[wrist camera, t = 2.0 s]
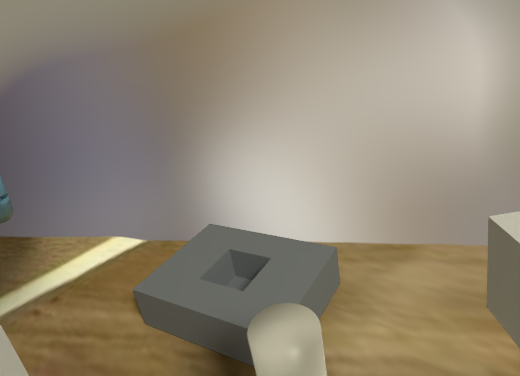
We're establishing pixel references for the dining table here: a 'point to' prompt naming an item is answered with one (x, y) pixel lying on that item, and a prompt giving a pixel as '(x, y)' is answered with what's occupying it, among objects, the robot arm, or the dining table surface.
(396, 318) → the dining table surface
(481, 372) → the dining table surface
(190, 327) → the hole block
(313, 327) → the pin
